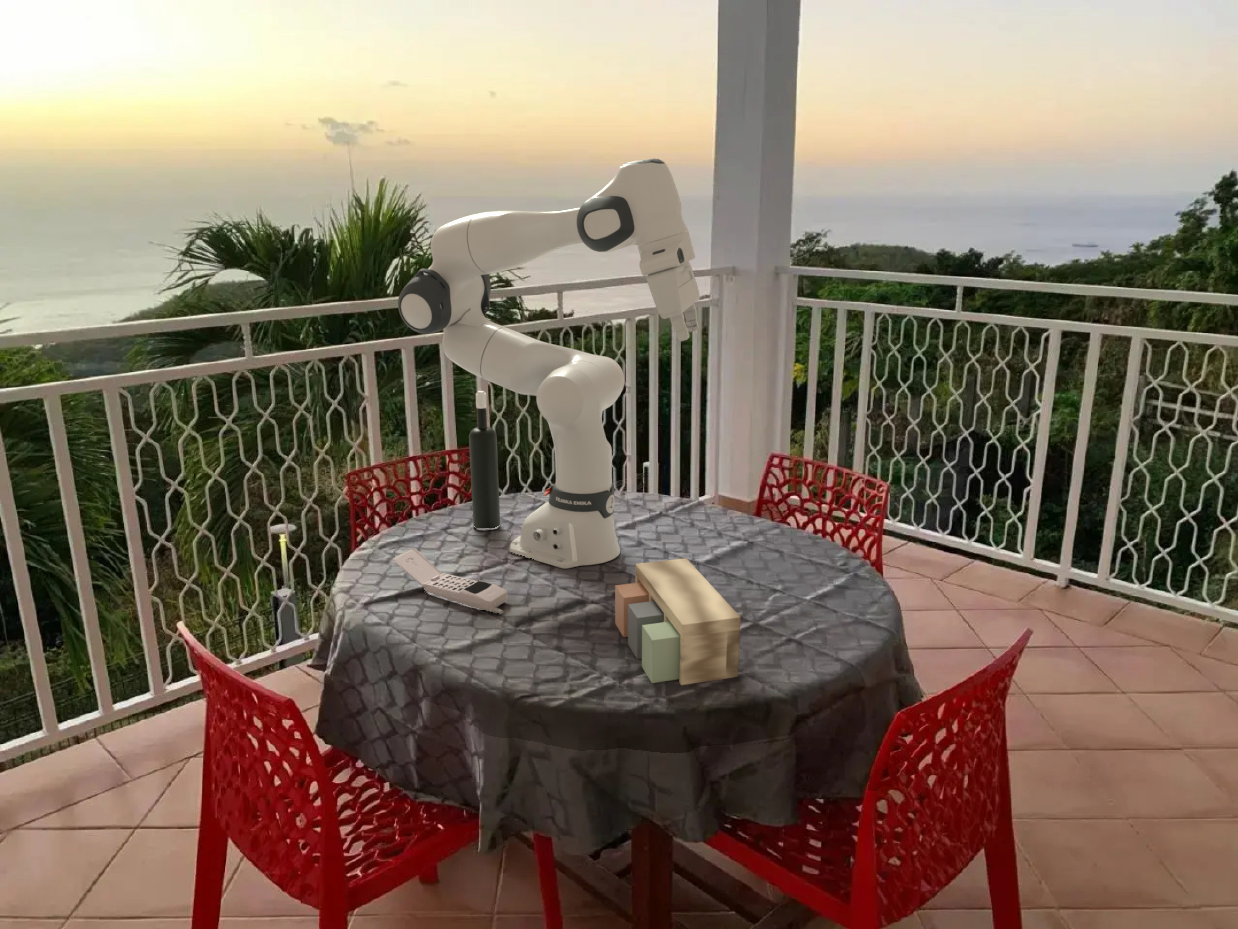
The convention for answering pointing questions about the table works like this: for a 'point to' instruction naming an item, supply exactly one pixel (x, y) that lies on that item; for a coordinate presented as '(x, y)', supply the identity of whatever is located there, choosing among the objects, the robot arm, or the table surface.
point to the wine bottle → (484, 469)
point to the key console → (694, 619)
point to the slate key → (641, 623)
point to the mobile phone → (451, 583)
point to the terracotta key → (624, 597)
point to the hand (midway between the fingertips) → (689, 335)
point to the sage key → (661, 652)
